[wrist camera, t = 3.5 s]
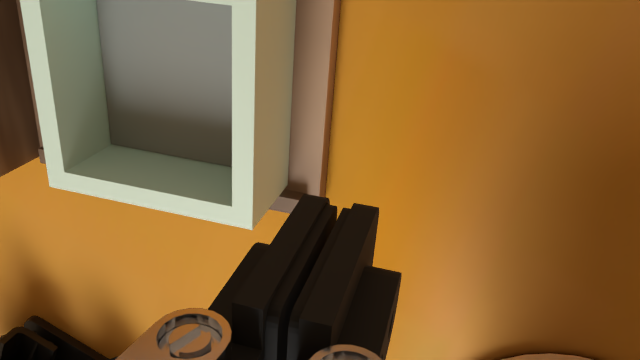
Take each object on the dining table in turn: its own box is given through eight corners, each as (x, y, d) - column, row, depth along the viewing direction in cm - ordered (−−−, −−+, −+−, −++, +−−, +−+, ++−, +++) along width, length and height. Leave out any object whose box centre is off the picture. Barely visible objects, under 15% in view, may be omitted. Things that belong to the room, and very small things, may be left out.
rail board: (345, -58, 23) (267, -44, 15) (324, 199, 29) (259, 307, 21) (0, -89, 27) (-204, -91, 19) (38, 143, 32) (-110, 217, 24)
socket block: (297, -31, 23) (256, -20, 19) (287, 184, 27) (252, 230, 23) (88, -52, 25) (12, -46, 21) (109, 150, 29) (49, 186, 26)
